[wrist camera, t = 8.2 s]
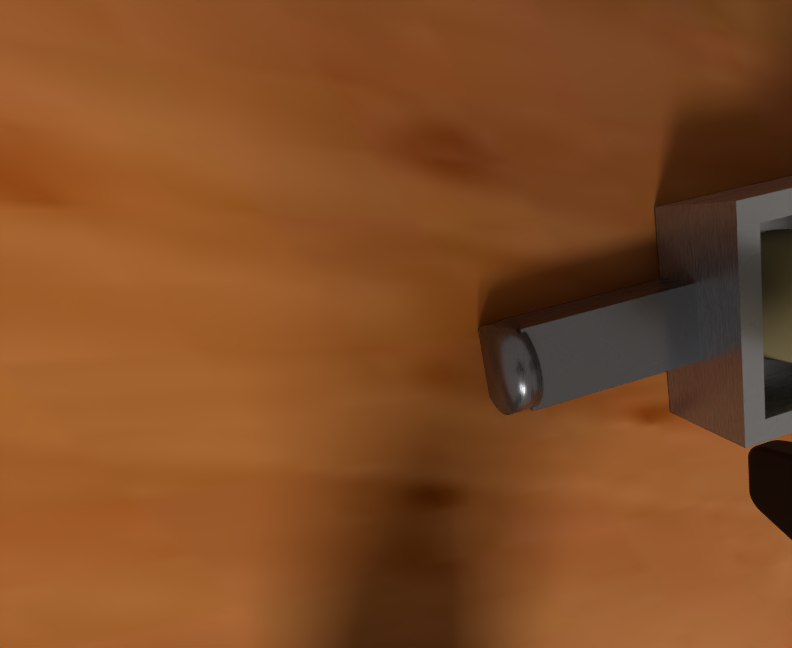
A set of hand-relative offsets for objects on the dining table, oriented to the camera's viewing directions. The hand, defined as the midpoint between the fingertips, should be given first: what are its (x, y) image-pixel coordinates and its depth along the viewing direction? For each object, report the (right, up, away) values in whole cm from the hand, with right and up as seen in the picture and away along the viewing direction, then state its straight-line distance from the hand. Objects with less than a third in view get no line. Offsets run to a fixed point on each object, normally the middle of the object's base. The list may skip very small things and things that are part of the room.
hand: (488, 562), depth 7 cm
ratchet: (+12, +4, +16) cm, 20 cm away
